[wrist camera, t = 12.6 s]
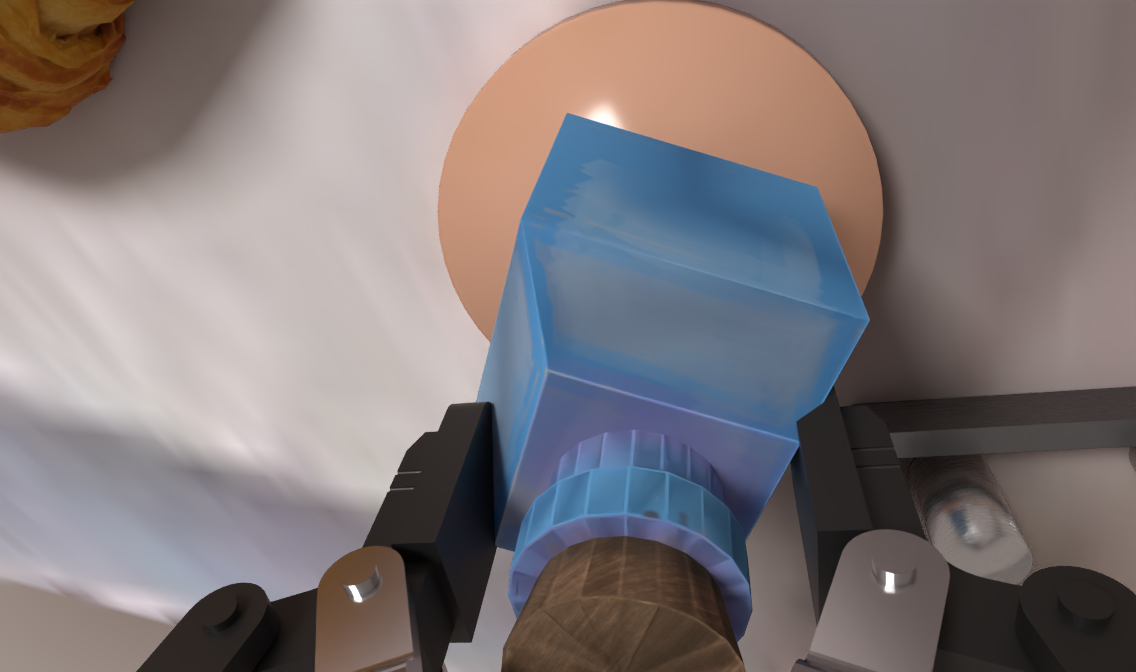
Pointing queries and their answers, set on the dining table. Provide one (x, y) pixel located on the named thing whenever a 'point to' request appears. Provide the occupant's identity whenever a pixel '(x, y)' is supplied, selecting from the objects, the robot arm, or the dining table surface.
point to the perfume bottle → (653, 394)
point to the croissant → (54, 56)
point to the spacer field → (962, 477)
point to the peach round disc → (652, 125)
